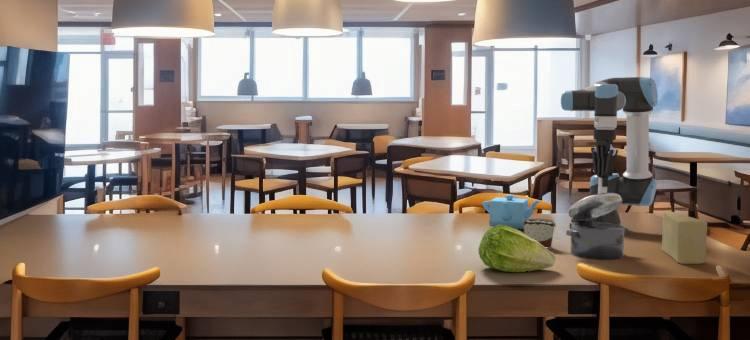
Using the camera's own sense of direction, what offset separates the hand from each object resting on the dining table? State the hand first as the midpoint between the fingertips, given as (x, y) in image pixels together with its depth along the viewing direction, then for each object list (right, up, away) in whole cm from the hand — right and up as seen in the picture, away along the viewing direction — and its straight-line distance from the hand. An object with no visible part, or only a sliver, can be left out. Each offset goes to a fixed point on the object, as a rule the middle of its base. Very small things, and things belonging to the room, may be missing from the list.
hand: (602, 195), depth 247 cm
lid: (-1, -6, +5) cm, 7 cm away
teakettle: (-22, -16, +51) cm, 58 cm away
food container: (-18, -20, +18) cm, 32 cm away
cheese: (+27, -22, +1) cm, 34 cm away
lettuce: (-34, -24, -20) cm, 46 cm away
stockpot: (-1, -21, +5) cm, 22 cm away
